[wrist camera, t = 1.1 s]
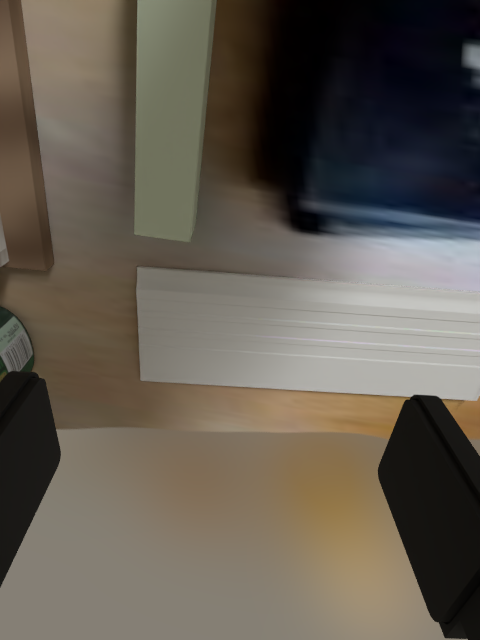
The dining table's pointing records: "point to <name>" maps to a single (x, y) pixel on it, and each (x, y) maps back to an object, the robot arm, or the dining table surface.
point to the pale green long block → (171, 113)
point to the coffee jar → (14, 345)
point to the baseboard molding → (307, 334)
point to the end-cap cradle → (20, 154)
